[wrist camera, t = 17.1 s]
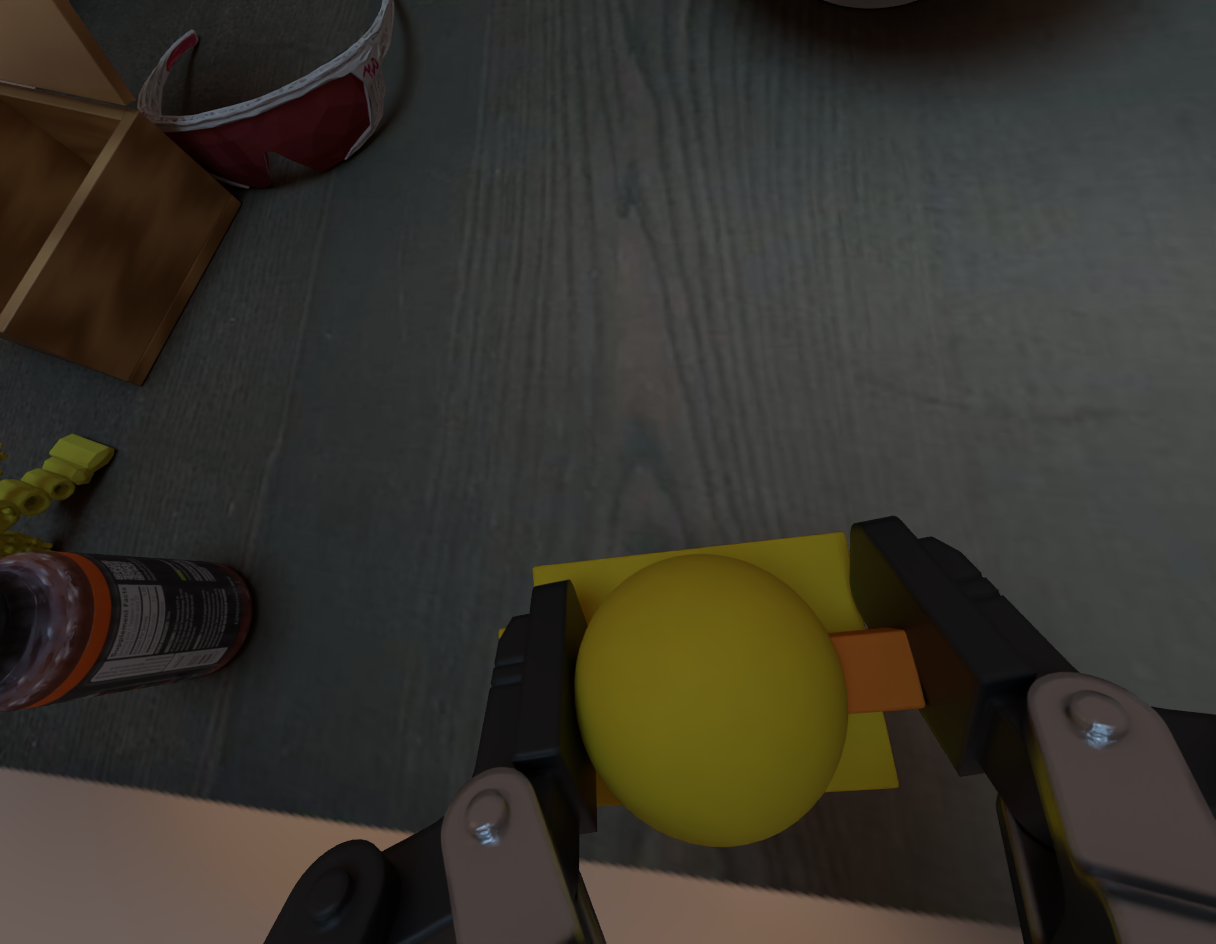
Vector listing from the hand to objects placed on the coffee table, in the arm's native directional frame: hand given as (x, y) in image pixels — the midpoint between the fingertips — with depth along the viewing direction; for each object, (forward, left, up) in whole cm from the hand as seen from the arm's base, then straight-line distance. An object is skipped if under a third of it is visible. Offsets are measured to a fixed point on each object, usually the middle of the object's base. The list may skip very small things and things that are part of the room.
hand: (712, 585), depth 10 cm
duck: (-2, 0, -6) cm, 6 cm away
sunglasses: (+23, +36, -15) cm, 46 cm away
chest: (+7, +41, -15) cm, 44 cm away
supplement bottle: (-10, +24, -15) cm, 30 cm away
